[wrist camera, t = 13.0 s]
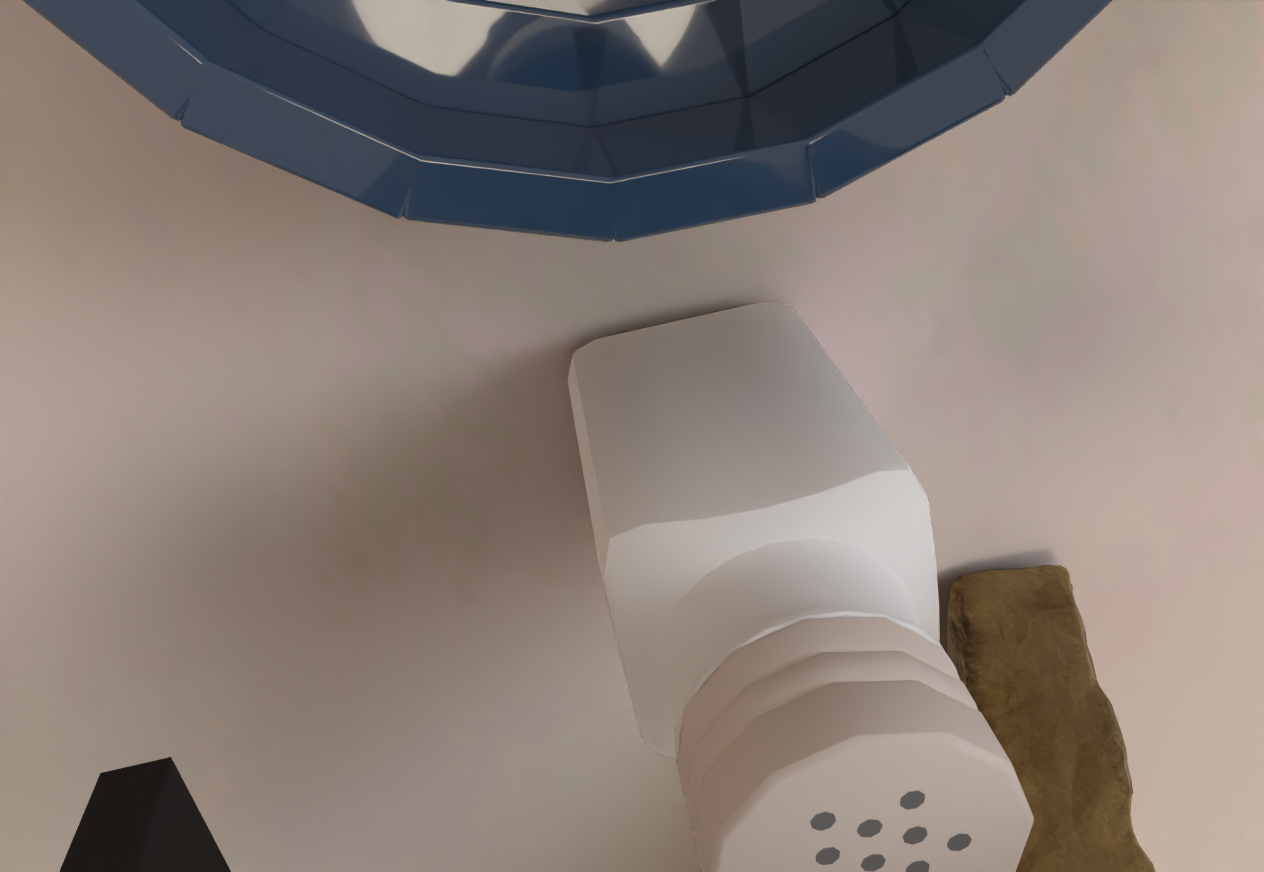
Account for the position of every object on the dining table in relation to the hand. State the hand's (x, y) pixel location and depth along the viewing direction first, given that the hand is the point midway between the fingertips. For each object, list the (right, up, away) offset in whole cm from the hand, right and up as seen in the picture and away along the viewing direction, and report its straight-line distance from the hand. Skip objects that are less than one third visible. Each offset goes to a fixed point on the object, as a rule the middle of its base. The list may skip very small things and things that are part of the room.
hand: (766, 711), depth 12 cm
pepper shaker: (-1, +4, +6) cm, 7 cm away
